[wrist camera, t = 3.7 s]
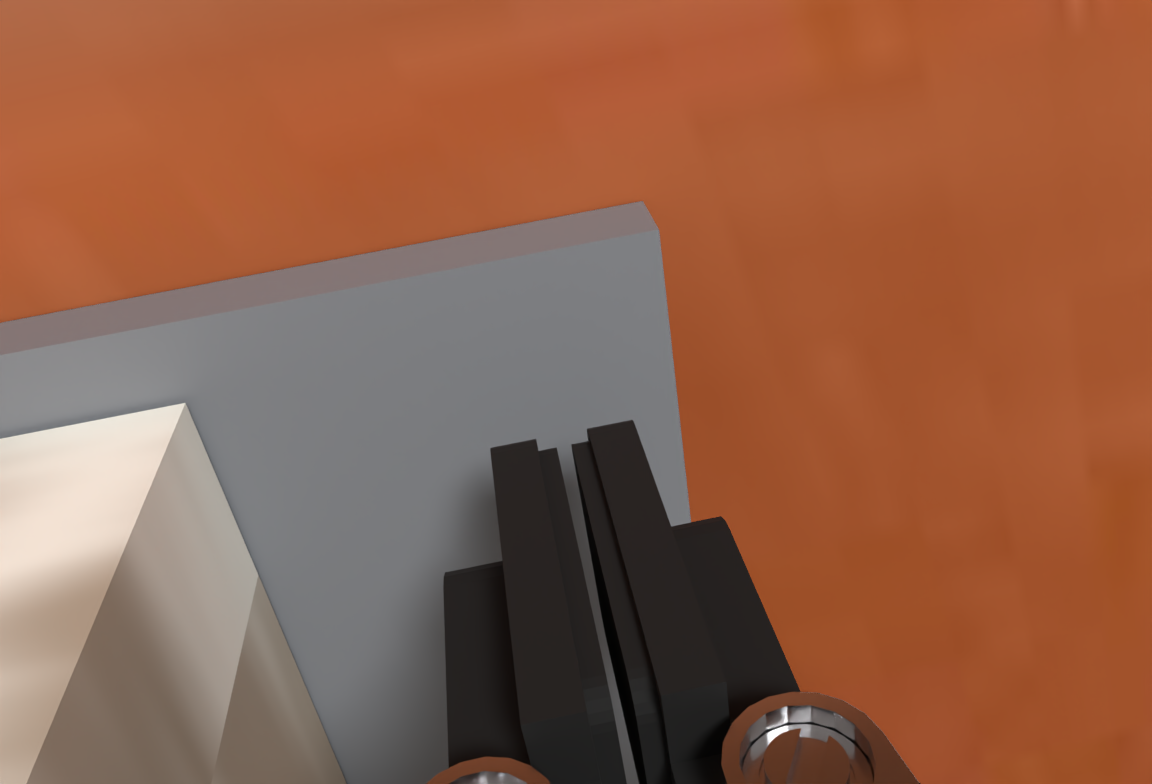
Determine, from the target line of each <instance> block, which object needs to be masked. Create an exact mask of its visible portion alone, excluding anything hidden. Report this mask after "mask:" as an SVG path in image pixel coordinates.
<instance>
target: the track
mask: <svg viewBox="0 0 1152 784" xmlns="http://www.w3.org/2000/svg"><path fill="white" fill-rule="evenodd" d="M182 403H186V405H187V408H188V410H189V412H190V415H191V417H192V419H193V422H194V424H195V426H196V429H197V431H198V434H199V436H200V438H201V441H202V443H203V445H204V448H205V450H206V452H207V455H208V457H209V460H210V462H211V464H212V467H213V469H214V471H215V474H216V476H217V478H218V481H219V483H220V486H221V488H222V490H223V493H224V495H225V497H226V500H227V502H228V504H229V507H230V509H231V511H232V514H233V516H234V519H235V521H236V523H237V526H238V528H239V530H240V533H241V535H242V537H243V540H244V542H245V545H246V547H247V549H248V552H249V554H250V556H251V559H252V561H253V563H254V566H255V568H256V571H257V573H258V575H259V578H260V580H261V582H262V585H263V587H264V589H265V592H266V594H267V597H268V599H269V601H270V604H271V606H272V608H273V611H274V613H275V615H276V618H277V620H278V623H279V625H280V627H281V630H282V632H283V634H284V637H285V639H286V641H287V644H288V646H289V649H290V651H291V653H292V656H293V658H294V660H295V663H296V665H297V667H298V670H299V672H300V675H301V677H302V679H303V682H304V684H305V686H306V689H307V691H308V693H309V696H310V698H311V701H312V703H313V705H314V708H315V710H316V712H317V715H318V717H319V719H320V722H321V724H322V726H323V729H324V731H325V734H326V736H327V738H328V741H329V743H330V745H331V748H332V750H333V752H334V755H335V757H336V760H337V762H338V764H339V767H340V769H341V771H342V774H343V776H344V778H345V781H346V783H347V784H426V783H427V782H429V781H430V780H431V779H432V778H433V777H434V776H436V775H437V774H438V773H440V772H442V771H444V770H446V769H448V768H449V763H448V729H447V694H446V660H445V626H444V592H443V581H444V574H445V572H450V571H455V570H460V569H465V568H470V567H475V566H480V565H484V564H489V563H494V562H499V561H502V552H501V543H500V534H499V525H498V516H497V507H496V498H495V489H494V480H493V471H492V462H491V452H490V448H492V447H497V446H502V445H507V444H512V443H517V442H522V441H527V440H532V439H536V441H537V446H538V451H541V450H546V449H551V448H556V447H557V451H558V456H559V460H560V465H561V470H562V474H563V479H564V483H565V488H566V493H567V497H568V502H569V506H570V511H571V516H572V520H573V525H574V530H575V534H576V539H577V543H578V548H579V553H580V557H581V562H582V566H583V571H584V576H585V580H586V585H587V589H588V594H589V599H590V603H591V608H592V612H593V617H594V622H595V626H596V631H597V635H598V640H599V645H600V649H601V654H602V659H603V663H604V668H605V672H606V677H607V682H608V686H609V691H610V696H611V701H612V706H613V711H614V716H615V721H616V727H617V732H618V738H619V743H620V749H621V754H622V760H623V765H624V771H625V776H626V782H627V784H639V782H638V777H637V773H636V769H635V764H634V760H633V755H632V751H631V747H630V742H629V738H628V733H627V729H626V724H625V720H624V716H623V711H622V707H621V702H620V698H619V694H618V689H617V685H616V680H615V676H614V672H613V667H612V663H611V658H610V654H609V650H608V645H607V641H606V636H605V631H604V626H603V621H602V616H601V610H600V605H599V599H598V594H597V588H596V582H595V577H594V571H593V565H592V560H591V554H590V549H589V543H588V537H587V532H586V526H585V520H584V515H583V509H582V504H581V498H580V492H579V487H578V481H577V475H576V470H575V464H574V459H573V453H572V446H571V444H576V443H581V442H586V441H588V436H587V429H588V428H593V427H598V426H603V425H608V424H613V423H618V422H623V421H629V420H633V421H634V424H635V426H636V429H637V432H638V435H639V437H640V440H641V443H642V446H643V449H644V451H645V454H646V457H647V460H648V463H649V465H650V468H651V471H652V474H653V477H654V480H655V482H656V485H657V488H658V491H659V494H660V496H661V499H662V502H663V505H664V508H665V511H666V513H667V516H668V519H669V522H670V525H671V526H676V525H681V524H686V523H691V518H690V508H689V499H688V490H687V481H686V472H685V463H684V454H683V445H682V436H681V426H680V417H679V408H678V399H677V390H676V381H675V372H674V363H673V354H672V344H671V335H670V326H669V317H668V308H667V299H666V290H665V281H664V272H663V262H662V253H661V244H660V235H659V229H658V227H657V225H656V224H655V222H654V220H653V218H652V217H651V215H650V213H649V211H648V210H647V208H646V206H645V204H644V202H643V201H640V202H635V203H630V204H624V205H619V206H614V207H608V208H603V209H598V210H593V211H587V212H582V213H577V214H572V215H566V216H561V217H556V218H550V219H545V220H540V221H535V222H529V223H524V224H519V225H514V226H508V227H503V228H498V229H493V230H487V231H482V232H477V233H471V234H466V235H461V236H456V237H450V238H445V239H440V240H435V241H429V242H424V243H419V244H413V245H408V246H403V247H398V248H392V249H387V250H382V251H377V252H371V253H366V254H361V255H355V256H350V257H345V258H340V259H334V260H329V261H324V262H319V263H313V264H308V265H303V266H298V267H292V268H287V269H282V270H276V271H271V272H266V273H261V274H255V275H250V276H245V277H240V278H234V279H229V280H224V281H218V282H213V283H208V284H203V285H197V286H192V287H187V288H182V289H176V290H171V291H166V292H160V293H155V294H150V295H145V296H139V297H134V298H129V299H124V300H118V301H113V302H108V303H102V304H97V305H92V306H87V307H81V308H76V309H71V310H66V311H60V312H55V313H50V314H44V315H39V316H34V317H29V318H23V319H18V320H13V321H8V322H2V323H0V439H2V438H7V437H12V436H17V435H22V434H28V433H33V432H38V431H43V430H48V429H53V428H58V427H64V426H69V425H74V424H79V423H84V422H89V421H94V420H100V419H105V418H110V417H115V416H120V415H125V414H131V413H136V412H141V411H146V410H151V409H156V408H161V407H167V406H172V405H177V404H182Z"/></svg>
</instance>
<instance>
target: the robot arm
mask: <svg viewBox="0 0 1152 784" xmlns="http://www.w3.org/2000/svg"><path fill="white" fill-rule="evenodd" d="M587 436H588V441H586V442H581V443H576V444H571V446H572V453H573V459H574V464H575V470H576V475H577V481H578V487H579V492H580V498H581V504H582V509H583V515H584V520H585V526H586V532H587V537H588V543H589V549H590V554H591V560H592V565H593V571H594V577H595V582H596V588H597V594H598V599H599V605H600V610H601V616H602V621H603V626H604V631H605V636H606V641H607V645H608V650H609V654H610V658H611V663H612V667H613V672H614V676H615V680H616V685H617V689H618V694H619V698H620V702H621V707H622V711H623V716H624V720H625V724H626V729H627V733H628V738H629V742H630V747H631V751H632V755H633V760H634V764H635V769H636V773H637V777H638V782H639V784H920V783H919V782H918V781H917V779H916V778H915V777H914V775H913V774H912V772H911V771H910V770H909V768H908V767H907V765H906V764H905V763H904V761H903V760H902V758H901V757H900V756H899V754H898V753H897V751H896V750H895V749H894V747H893V746H892V744H891V743H890V742H889V740H888V739H887V737H886V736H885V735H884V733H883V732H882V731H881V730H880V729H879V728H878V727H877V726H876V724H875V723H874V722H873V721H872V720H871V719H870V718H869V717H868V716H867V715H866V714H865V713H863V712H862V711H860V710H858V709H857V708H855V707H853V706H851V705H850V704H848V703H846V702H845V701H843V700H840V699H837V698H833V697H830V696H826V695H823V694H820V693H808V692H800V690H799V687H798V685H797V683H796V680H795V678H794V676H793V674H792V671H791V669H790V667H789V664H788V662H787V660H786V657H785V655H784V653H783V651H782V648H781V646H780V644H779V641H778V639H777V637H776V635H775V632H774V630H773V628H772V625H771V623H770V621H769V619H768V616H767V614H766V612H765V609H764V607H763V605H762V602H761V600H760V598H759V596H758V593H757V591H756V589H755V586H754V584H753V582H752V580H751V577H750V575H749V573H748V570H747V568H746V566H745V564H744V561H743V559H742V557H741V554H740V552H739V550H738V547H737V545H736V543H735V541H734V538H733V536H732V534H731V531H730V529H729V527H728V525H727V523H726V521H725V520H724V519H723V518H722V517H716V518H711V519H706V520H701V521H696V522H691V523H686V524H681V525H676V526H671V525H670V522H669V519H668V516H667V513H666V511H665V508H664V505H663V502H662V499H661V496H660V494H659V491H658V488H657V485H656V482H655V480H654V477H653V474H652V471H651V468H650V465H649V463H648V460H647V457H646V454H645V451H644V449H643V446H642V443H641V440H640V437H639V435H638V432H637V429H636V426H635V424H634V421H633V420H629V421H623V422H618V423H613V424H608V425H603V426H598V427H593V428H588V429H587ZM490 452H491V462H492V471H493V480H494V489H495V498H496V507H497V516H498V525H499V534H500V543H501V552H502V561H499V562H494V563H489V564H484V565H480V566H475V567H470V568H465V569H460V570H455V571H450V572H445V574H444V581H443V592H444V626H445V660H446V694H447V729H448V763H449V768H448V769H446V770H444V771H442V772H440V773H438V774H437V775H436V776H434V777H433V778H432V779H431V780H430V781H429V782H427V783H426V784H627V782H626V776H625V771H624V765H623V760H622V754H621V749H620V743H619V738H618V732H617V727H616V721H615V716H614V711H613V706H612V701H611V696H610V691H609V686H608V682H607V677H606V672H605V668H604V663H603V659H602V654H601V649H600V645H599V640H598V635H597V631H596V626H595V622H594V617H593V612H592V608H591V603H590V599H589V594H588V589H587V585H586V580H585V576H584V571H583V566H582V562H581V557H580V553H579V548H578V543H577V539H576V534H575V530H574V525H573V520H572V516H571V511H570V506H569V502H568V497H567V493H566V488H565V483H564V479H563V474H562V470H561V465H560V460H559V456H558V451H557V447H556V448H551V449H546V450H541V451H538V446H537V441H536V439H532V440H527V441H522V442H517V443H512V444H507V445H502V446H497V447H492V448H490Z"/></svg>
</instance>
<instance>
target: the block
mask: <svg viewBox="0 0 1152 784" xmlns="http://www.w3.org/2000/svg"><path fill="white" fill-rule="evenodd" d="M0 784H347V783H346V781H345V778H344V776H343V774H342V771H341V769H340V767H339V764H338V762H337V760H336V757H335V755H334V752H333V750H332V748H331V745H330V743H329V741H328V738H327V736H326V734H325V731H324V729H323V726H322V724H321V722H320V719H319V717H318V715H317V712H316V710H315V708H314V705H313V703H312V701H311V698H310V696H309V693H308V691H307V689H306V686H305V684H304V682H303V679H302V677H301V675H300V672H299V670H298V667H297V665H296V663H295V660H294V658H293V656H292V653H291V651H290V649H289V646H288V644H287V641H286V639H285V637H284V634H283V632H282V630H281V627H280V625H279V623H278V620H277V618H276V615H275V613H274V611H273V608H272V606H271V604H270V601H269V599H268V597H267V594H266V592H265V589H264V587H263V585H262V582H261V580H260V578H259V575H258V573H257V571H256V568H255V566H254V563H253V561H252V559H251V556H250V554H249V552H248V549H247V547H246V545H245V542H244V540H243V537H242V535H241V533H240V530H239V528H238V526H237V523H236V521H235V519H234V516H233V514H232V511H231V509H230V507H229V504H228V502H227V500H226V497H225V495H224V493H223V490H222V488H221V486H220V483H219V481H218V478H217V476H216V474H215V471H214V469H213V467H212V464H211V462H210V460H209V457H208V455H207V452H206V450H205V448H204V445H203V443H202V441H201V438H200V436H199V434H198V431H197V429H196V426H195V424H194V422H193V419H192V417H191V415H190V412H189V410H188V408H187V405H186V403H182V404H177V405H172V406H167V407H161V408H156V409H151V410H146V411H141V412H136V413H131V414H125V415H120V416H115V417H110V418H105V419H100V420H94V421H89V422H84V423H79V424H74V425H69V426H64V427H58V428H53V429H48V430H43V431H38V432H33V433H28V434H22V435H17V436H12V437H7V438H2V439H0Z"/></svg>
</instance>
